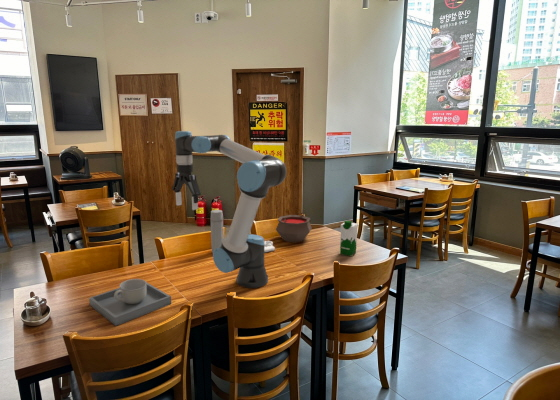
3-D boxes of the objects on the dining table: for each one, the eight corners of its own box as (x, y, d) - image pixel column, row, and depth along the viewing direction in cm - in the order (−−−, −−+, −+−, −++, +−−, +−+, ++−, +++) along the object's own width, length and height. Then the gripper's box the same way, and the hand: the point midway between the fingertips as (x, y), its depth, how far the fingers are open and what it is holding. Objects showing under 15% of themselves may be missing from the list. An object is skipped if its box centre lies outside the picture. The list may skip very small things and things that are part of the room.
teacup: (141, 293, 168) (139, 276, 166) (152, 301, 160) (151, 283, 159) (109, 303, 158) (107, 285, 157) (119, 312, 151) (117, 294, 149)
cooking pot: (288, 231, 264) (288, 208, 260) (318, 237, 250) (319, 214, 247) (268, 240, 244) (268, 216, 241) (299, 247, 231) (299, 221, 227)
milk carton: (338, 254, 220) (339, 221, 215) (344, 249, 227) (345, 217, 223) (352, 257, 215) (353, 223, 211) (358, 252, 222) (359, 219, 218)
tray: (171, 303, 160) (170, 296, 159) (115, 326, 143) (114, 317, 142) (143, 287, 176) (142, 280, 175) (89, 305, 159) (89, 297, 158)
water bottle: (221, 255, 218) (220, 213, 212) (209, 254, 219) (207, 212, 214) (227, 249, 227) (226, 209, 221) (214, 248, 228) (213, 208, 223)
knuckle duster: (252, 256, 217) (241, 248, 229) (279, 250, 226) (267, 244, 238) (252, 250, 216) (241, 243, 229) (279, 245, 226) (267, 238, 238)
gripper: (207, 165, 174) (208, 210, 179) (176, 161, 190) (179, 202, 195) (193, 166, 169) (195, 212, 173) (163, 162, 185) (166, 204, 190)
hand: (186, 207), depth 184 cm, fingers open, 13 cm apart
